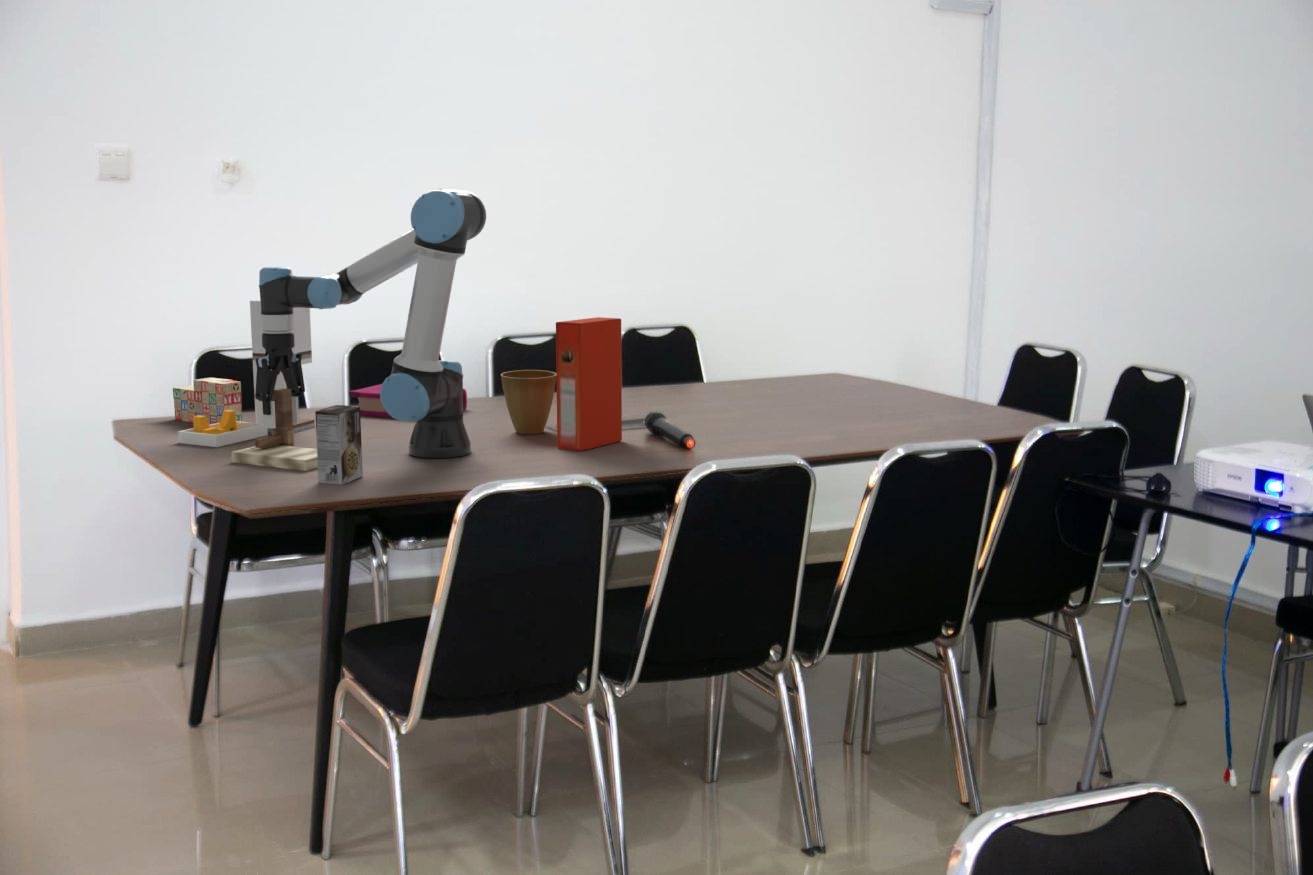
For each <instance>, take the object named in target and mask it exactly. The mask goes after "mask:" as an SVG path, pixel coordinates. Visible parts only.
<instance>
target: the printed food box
mask: <svg viewBox="0 0 1313 875" xmlns="http://www.w3.org/2000/svg"><path fill="white" fill-rule="evenodd" d="M314 413H315V414H314V415H315V432H316V433H315V435H316V437H315V439H316V449H317V462H318V468H317V480H318V481H317V482H318V484H319V483H320V484H329V485H341V486H342V485H343V486H344V485H345V484H347V483H350V482H351V481H352V482H353V481H354V480H357V479H359V478H362V477H363V476H364V473H363V472H364V471H363V468H364V466H363V446H362V423H361V422H362V421H361V420H362V419H361V415H360V407H358V406H352V405H343V404H335V405H331V406H329V407H326V408H322V409H319V410H315V412H314Z"/></svg>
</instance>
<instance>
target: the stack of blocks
mask: <svg viewBox="0 0 1313 875" xmlns="http://www.w3.org/2000/svg"><path fill="white" fill-rule="evenodd" d="M172 396H173V408H174V419H175V420H176V421H182V422H188V423H193V416H198V415H201V416H206V418H207V422H208V424H209V425H211V424H216V423H220V421H221V419H222V415H223V411H225V410H234V411H235V412H236V421H240V422H243V414H242V411H243V410H242V408H243V407H242V403H243V402H242V384H241V381H238V380H233V379H228V378H217V377H204V378H199V379H198V378H197V379H193V385H191V384H190V385H184V386H176V387H173V388H172Z"/></svg>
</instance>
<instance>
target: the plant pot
mask: <svg viewBox="0 0 1313 875" xmlns="http://www.w3.org/2000/svg"><path fill="white" fill-rule="evenodd" d="M500 379H501V384H502V390H503V395H504V399H505V403H506V406H507V410H508V413H509V414H508V415H509V417H510V420H511V423H512V426H513V429H514V431H515V432H516V433H517V434H518V435H519V434H520V435H538V434H542V433H544V431H545V428H546V425H547V423H548V419H549V416H550V413H551V409H552V404H553V400H554V396H555V395H554V394H555V389H556V385H557V378H556V372H554V371H549V370H542V369H541V370H540V369H521V370H511V371H510V370H509V371H506V372H502V373H501V374H500Z"/></svg>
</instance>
